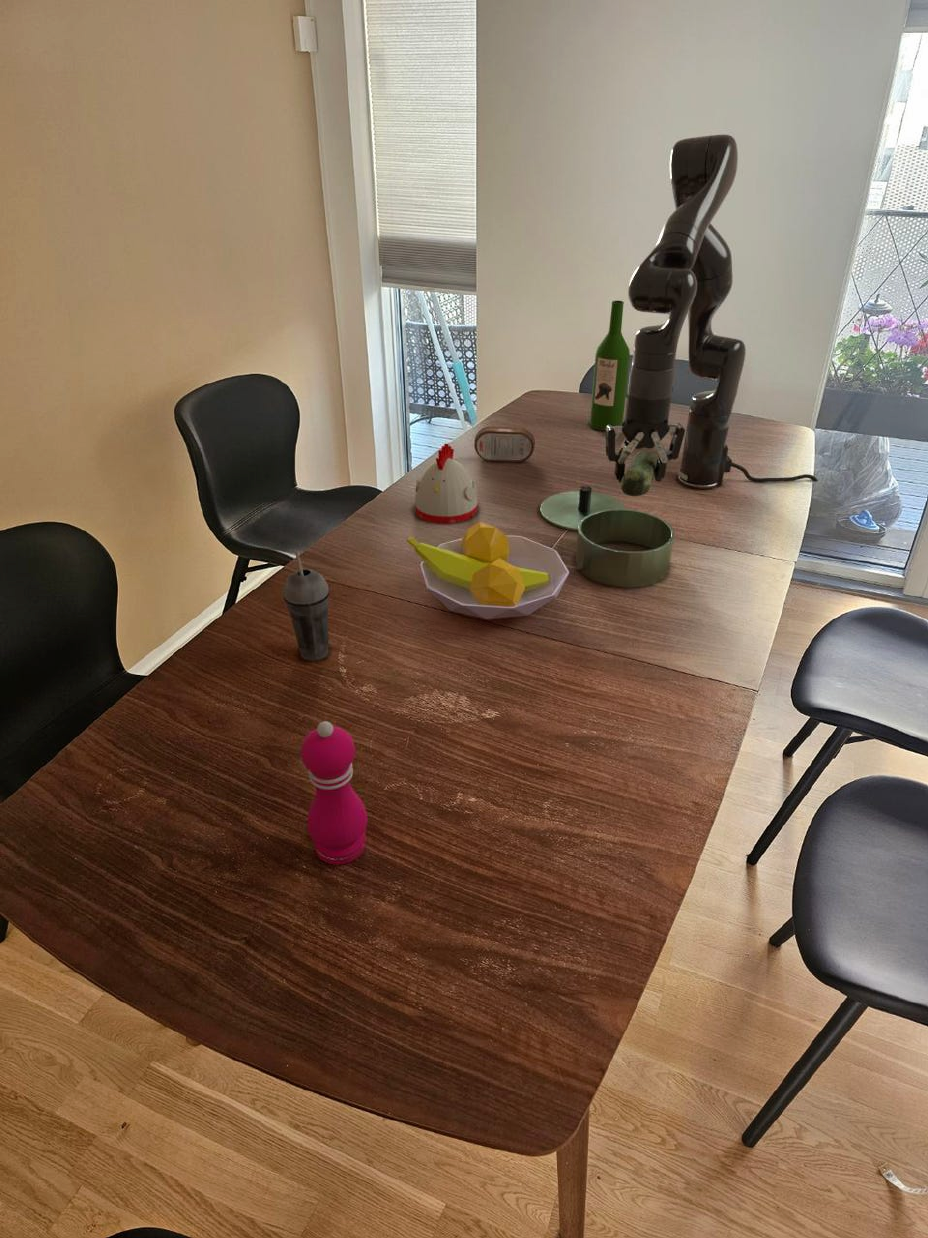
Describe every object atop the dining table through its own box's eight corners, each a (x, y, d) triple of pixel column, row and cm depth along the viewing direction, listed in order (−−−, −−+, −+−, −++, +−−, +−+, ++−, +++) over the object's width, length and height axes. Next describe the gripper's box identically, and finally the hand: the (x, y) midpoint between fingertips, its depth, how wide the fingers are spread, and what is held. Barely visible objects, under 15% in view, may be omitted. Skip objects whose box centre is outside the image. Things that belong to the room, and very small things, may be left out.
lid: (617, 494, 184) (620, 469, 181) (635, 533, 168) (639, 506, 165) (535, 496, 184) (536, 471, 180) (545, 535, 168) (547, 508, 164)
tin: (534, 459, 202) (535, 426, 197) (533, 464, 199) (535, 431, 195) (474, 457, 203) (474, 424, 199) (473, 461, 201) (473, 429, 196)
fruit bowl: (583, 576, 154) (587, 523, 148) (532, 651, 134) (535, 594, 127) (451, 547, 164) (450, 496, 158) (385, 613, 143) (382, 558, 137)
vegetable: (646, 502, 142) (650, 476, 139) (617, 498, 144) (620, 472, 141) (657, 472, 153) (661, 447, 150) (630, 469, 155) (633, 444, 152)
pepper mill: (313, 825, 103) (294, 704, 91) (370, 821, 103) (358, 700, 92) (309, 871, 97) (288, 747, 85) (369, 866, 97) (356, 743, 86)
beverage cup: (344, 644, 136) (332, 539, 124) (324, 669, 130) (310, 561, 119) (305, 636, 138) (290, 532, 126) (284, 660, 132) (266, 554, 121)
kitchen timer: (405, 517, 175) (401, 452, 167) (429, 492, 186) (427, 429, 177) (465, 527, 171) (464, 461, 163) (485, 501, 182) (486, 437, 173)
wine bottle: (585, 428, 219) (596, 303, 201) (594, 418, 226) (604, 296, 208) (618, 433, 216) (631, 306, 198) (625, 422, 223) (639, 299, 205)
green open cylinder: (656, 541, 166) (661, 508, 161) (679, 586, 151) (685, 551, 146) (569, 543, 165) (572, 510, 161) (583, 588, 150) (586, 553, 146)
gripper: (685, 383, 142) (672, 471, 151) (604, 384, 141) (596, 473, 151) (697, 397, 136) (682, 488, 145) (612, 398, 135) (603, 490, 145)
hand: (638, 480), depth 148 cm, fingers closed on vegetable, 6 cm apart
